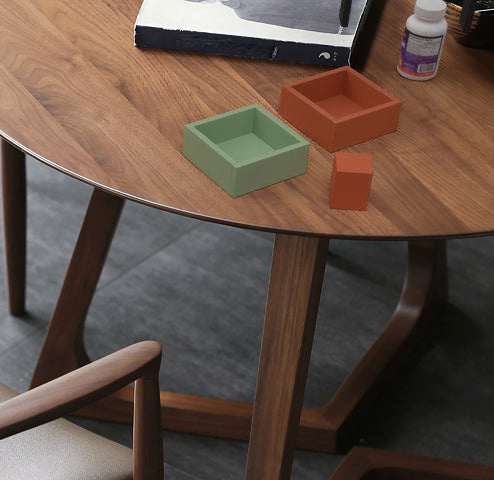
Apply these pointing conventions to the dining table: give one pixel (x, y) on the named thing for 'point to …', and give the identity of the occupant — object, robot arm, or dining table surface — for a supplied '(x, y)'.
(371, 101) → the terracotta bin
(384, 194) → the dining table surface
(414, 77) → the pill bottle
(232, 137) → the sage bin
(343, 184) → the red block
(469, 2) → the robot arm
